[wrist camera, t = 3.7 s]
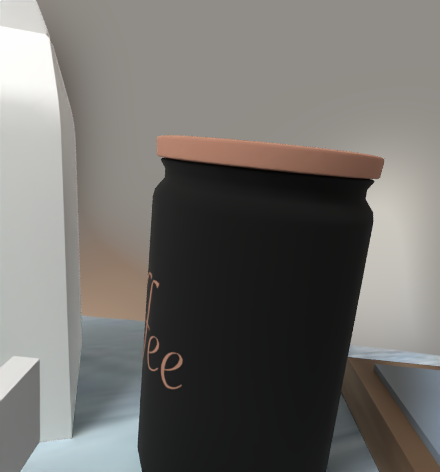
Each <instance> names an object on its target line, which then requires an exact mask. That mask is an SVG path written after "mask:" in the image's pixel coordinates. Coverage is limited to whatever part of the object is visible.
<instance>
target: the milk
mask: <svg viewBox="0 0 440 472" xmlns="http://www.w3.org/2000/svg"><path fill="white" fill-rule="evenodd" d="M75 141H76V140H75V128H74V121H73V116H72V111H71V107H70V103H69V100H68V96H67V93H66V89H65V86H64V82H63V79H62V75H61V72H60V68H59V64H58V61H57V58H56V54H55V51H54V47H53V44H52V43H51V42H50V35H49V33H48V30H47V27H46V24H45V22H44V19H43V17H42V14H41V11H40V9H39V6H38V4H37V1H36V0H0V368H1V367H2V366H3V365H4V364H5V363H6V362H7V361H8V360H9V359H10V358H12V357H13V356H19V357H28V358H38V359H40V442H47V441H55V440H62V439H70V438H72V431H73V422H74V413H75V404H76V394H77V385H78V376H79V367H80V358H81V349H82V324H81V294H80V262H79V234H78V232H79V231H78V201H77V171H76V142H75Z"/></svg>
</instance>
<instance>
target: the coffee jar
mask: <svg viewBox="0 0 440 472" xmlns="http://www.w3.org/2000/svg"><path fill="white" fill-rule="evenodd" d="M157 155H158V156H161V157H165V158H162V159H161V161H162V163H163V165H164V166H165V168H166V169H165V178H164V179H163V180H162V181H161V182H160V183H159V185H158V186H157V187H156V188H155V191H154V195H153V204H152V221H151V236H150V252H149V269H148V285H147V302H146V303H147V304H146V318H145V334H144V350H143V367H142V383H141V399H140V416H139V432H138V452H139V457H140V463H141V468H142V472H326V468H327V463H328V458H329V452H330V447H331V442H332V437H333V431H334V426H335V421H336V416H337V410H338V405H339V400H340V395H341V389H342V384H343V379H344V374H345V368H346V363H347V358H348V352H349V347H350V342H351V337H352V331H353V326H354V321H355V316H356V310H357V305H358V300H359V295H360V289H361V284H362V279H363V273H364V268H365V263H366V257H367V252H368V247H369V242H370V237H371V231H372V226H373V212H372V210H371V208H370V206H369V205H368V203H367V201H366V192H367V189H368V188H369V187H370V186H371V185H372V184H373V183H374V180H371V179H379V178H380V175H381V172H382V168H383V165H384V159H383V158H381V157H378V156H374V155H368V154H361V153H354V152H347V151H339V150H330V149H323V148H315V147H305V146H296V145H286V144H276V143H267V142H256V141H245V140H233V139H221V138H208V137H193V136H174V135H164V136H158V137H157Z"/></svg>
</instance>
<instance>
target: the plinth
mask: <svg viewBox="0 0 440 472" xmlns="http://www.w3.org/2000/svg"><path fill="white" fill-rule="evenodd" d="M341 392H342V395H343V397H344V399H345V401H346V403H347V405H348V407H349V409H350V411H351V413H352V415H353V417H354V420H355V422H356V424H357V426H358V428H359V430H360V432H361V434H362V436H363V438H364V440H365V443H366V445H367V447H368V449H369V451H370V453H371V455H372V457H373V459H374V461H375V463H376V465H377V468H378V470H379V472H440V366H430V365H420V364H410V363H401V362H391V361H381V360H371V359H361V358H352V357H348V358H347V363H346V368H345V374H344V379H343V384H342V389H341Z"/></svg>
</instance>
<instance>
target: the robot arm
mask: <svg viewBox="0 0 440 472" xmlns="http://www.w3.org/2000/svg"><path fill="white" fill-rule="evenodd" d="M39 442H40V359H38V358H28V357H19V356H13V357H12V358H10V359H9V360H8V361H7V362H6V363H5V364H4V365H3V366H2V367H1V368H0V472H20V471H21V469H22V468H23V466H24V465H25V463H26V462H27V460H28V459H29V457H30V455H31V454H32V452H33V451H34V449H35V448H36V446H37V445H38V443H39Z"/></svg>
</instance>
